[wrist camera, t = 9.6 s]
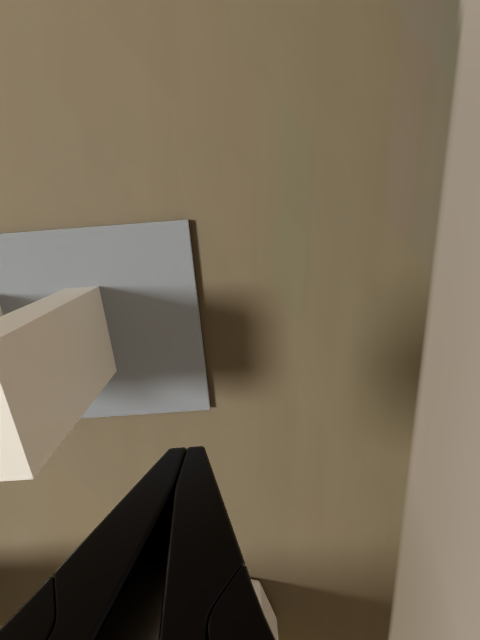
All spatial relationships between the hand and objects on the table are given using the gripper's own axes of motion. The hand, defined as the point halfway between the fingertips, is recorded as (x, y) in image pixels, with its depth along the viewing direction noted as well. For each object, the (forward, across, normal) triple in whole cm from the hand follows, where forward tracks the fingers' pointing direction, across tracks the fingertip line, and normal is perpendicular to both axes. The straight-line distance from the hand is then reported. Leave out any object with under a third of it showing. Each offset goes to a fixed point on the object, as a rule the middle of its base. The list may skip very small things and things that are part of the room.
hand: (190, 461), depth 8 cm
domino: (+10, +7, 0) cm, 12 cm away
